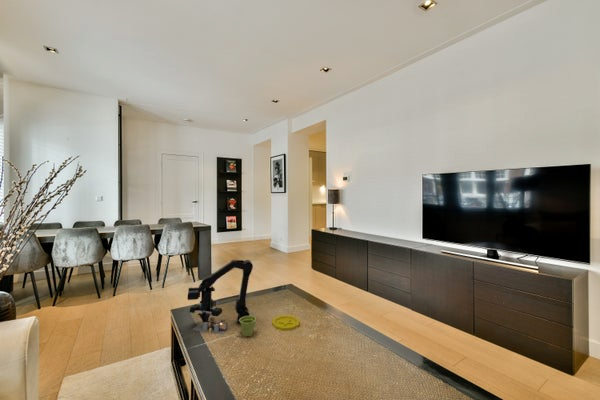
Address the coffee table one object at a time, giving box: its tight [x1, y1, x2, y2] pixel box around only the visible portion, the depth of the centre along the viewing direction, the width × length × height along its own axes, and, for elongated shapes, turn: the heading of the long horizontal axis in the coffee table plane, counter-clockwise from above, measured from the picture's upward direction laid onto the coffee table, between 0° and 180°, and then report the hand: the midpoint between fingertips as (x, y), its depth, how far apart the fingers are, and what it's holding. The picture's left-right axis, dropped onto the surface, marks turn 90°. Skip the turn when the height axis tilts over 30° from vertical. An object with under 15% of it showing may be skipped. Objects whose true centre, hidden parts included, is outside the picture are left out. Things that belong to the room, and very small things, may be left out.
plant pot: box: [239, 315, 257, 338], centre depth 153 cm, size 9×9×9 cm
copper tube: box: [207, 319, 229, 331], centre depth 157 cm, size 12×4×4 cm, turn 78°
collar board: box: [192, 316, 232, 335], centre depth 157 cm, size 20×10×6 cm, turn 77°
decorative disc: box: [271, 314, 301, 332], centre depth 167 cm, size 17×18×2 cm
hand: (205, 324), depth 158 cm, fingers closed
